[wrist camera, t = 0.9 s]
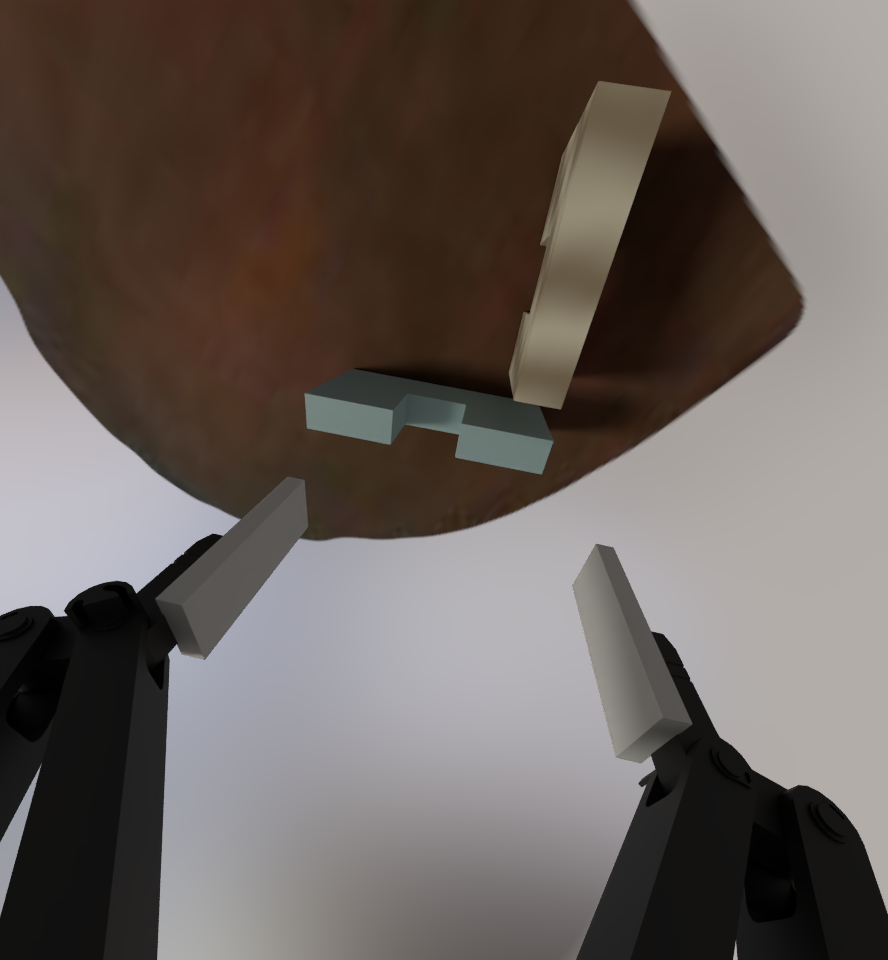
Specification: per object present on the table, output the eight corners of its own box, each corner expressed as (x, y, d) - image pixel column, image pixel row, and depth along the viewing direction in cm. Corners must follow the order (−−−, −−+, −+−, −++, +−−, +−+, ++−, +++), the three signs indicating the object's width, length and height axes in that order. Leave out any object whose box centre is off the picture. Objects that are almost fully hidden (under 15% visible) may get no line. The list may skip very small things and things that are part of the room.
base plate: (352, 396, 36) (307, 428, 27) (352, 368, 34) (304, 393, 26) (530, 430, 35) (541, 474, 27) (538, 403, 34) (553, 441, 25)
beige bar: (562, 156, 24) (598, 81, 16) (608, 163, 24) (671, 91, 16) (508, 372, 32) (513, 400, 24) (543, 378, 32) (560, 409, 24)
